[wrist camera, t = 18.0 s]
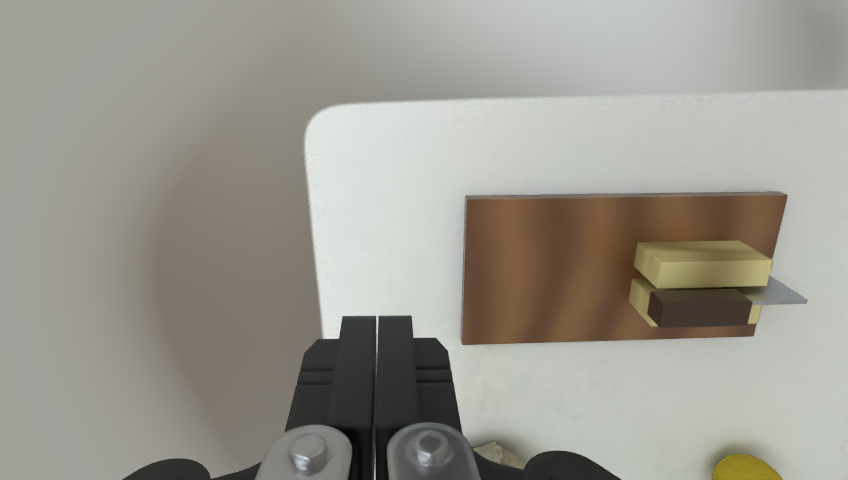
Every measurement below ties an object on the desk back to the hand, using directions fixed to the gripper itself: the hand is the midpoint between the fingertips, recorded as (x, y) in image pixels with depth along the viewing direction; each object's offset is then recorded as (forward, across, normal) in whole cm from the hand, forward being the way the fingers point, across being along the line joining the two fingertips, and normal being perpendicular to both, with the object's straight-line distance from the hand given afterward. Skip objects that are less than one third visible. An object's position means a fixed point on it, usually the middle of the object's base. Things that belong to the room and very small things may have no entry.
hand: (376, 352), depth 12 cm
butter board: (+28, -18, +11) cm, 35 cm away
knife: (+27, -23, +11) cm, 37 cm away
